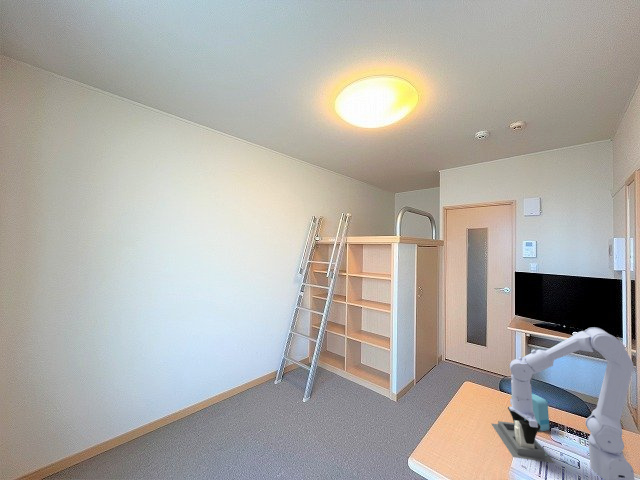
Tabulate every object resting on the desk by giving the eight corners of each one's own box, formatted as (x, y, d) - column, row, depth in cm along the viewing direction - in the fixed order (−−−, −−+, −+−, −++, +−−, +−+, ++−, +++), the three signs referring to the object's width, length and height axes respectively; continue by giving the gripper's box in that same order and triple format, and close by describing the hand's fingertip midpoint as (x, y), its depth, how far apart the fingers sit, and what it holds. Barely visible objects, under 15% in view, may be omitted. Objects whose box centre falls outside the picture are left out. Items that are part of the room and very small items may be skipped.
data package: (550, 433, 102) (547, 400, 103) (540, 434, 101) (538, 401, 102) (521, 415, 114) (519, 386, 115) (512, 416, 113) (510, 387, 114)
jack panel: (555, 466, 85) (554, 456, 86) (513, 460, 88) (512, 450, 89) (525, 430, 104) (524, 422, 104) (491, 425, 107) (490, 418, 107)
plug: (547, 455, 89) (545, 430, 90) (519, 451, 91) (517, 426, 92) (540, 447, 93) (538, 423, 94) (513, 443, 95) (512, 420, 96)
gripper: (500, 385, 102) (502, 422, 101) (518, 405, 88) (521, 448, 87) (521, 387, 100) (523, 425, 99) (543, 408, 86) (547, 452, 85)
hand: (524, 436), depth 93 cm, fingers open, 6 cm apart
